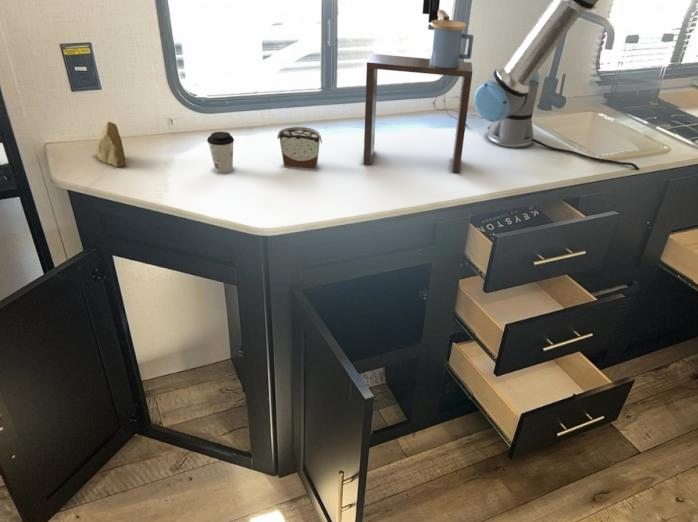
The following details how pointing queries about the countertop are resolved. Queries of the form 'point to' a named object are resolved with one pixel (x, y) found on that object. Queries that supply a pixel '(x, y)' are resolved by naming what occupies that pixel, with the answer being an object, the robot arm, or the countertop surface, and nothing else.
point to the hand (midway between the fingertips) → (429, 18)
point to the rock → (111, 146)
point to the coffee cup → (221, 151)
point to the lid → (447, 22)
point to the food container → (300, 147)
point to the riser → (418, 67)
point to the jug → (448, 47)
